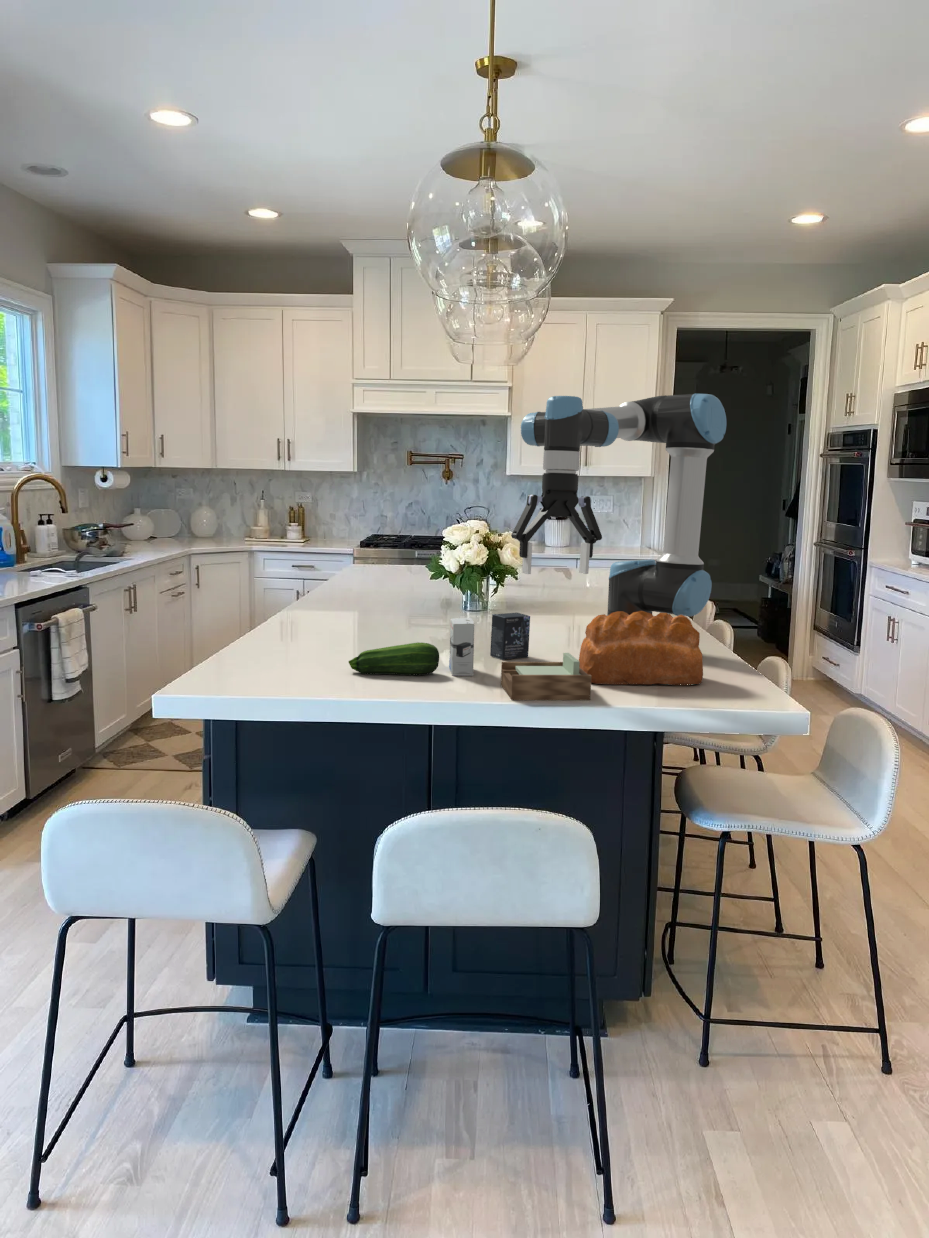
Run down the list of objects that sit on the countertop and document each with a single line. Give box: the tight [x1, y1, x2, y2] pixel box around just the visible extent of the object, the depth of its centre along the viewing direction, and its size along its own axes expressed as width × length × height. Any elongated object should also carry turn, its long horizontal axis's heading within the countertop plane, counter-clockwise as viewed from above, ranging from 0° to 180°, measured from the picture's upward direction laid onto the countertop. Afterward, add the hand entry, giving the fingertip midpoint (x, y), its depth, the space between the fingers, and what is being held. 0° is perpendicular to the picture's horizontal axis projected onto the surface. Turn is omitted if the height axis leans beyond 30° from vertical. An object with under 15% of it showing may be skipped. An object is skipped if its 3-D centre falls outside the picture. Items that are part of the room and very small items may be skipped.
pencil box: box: [500, 661, 592, 701], centre depth 185 cm, size 16×13×5 cm
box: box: [489, 612, 531, 661], centre depth 220 cm, size 8×6×11 cm
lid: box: [515, 652, 581, 675], centre depth 184 cm, size 12×10×4 cm
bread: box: [578, 611, 704, 686], centre depth 199 cm, size 14×26×16 cm, turn 94°
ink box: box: [448, 617, 475, 677], centre depth 201 cm, size 8×5×12 cm, turn 5°
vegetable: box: [348, 642, 440, 676], centre depth 198 cm, size 7×7×20 cm
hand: (555, 573), depth 191 cm, fingers open, 13 cm apart
